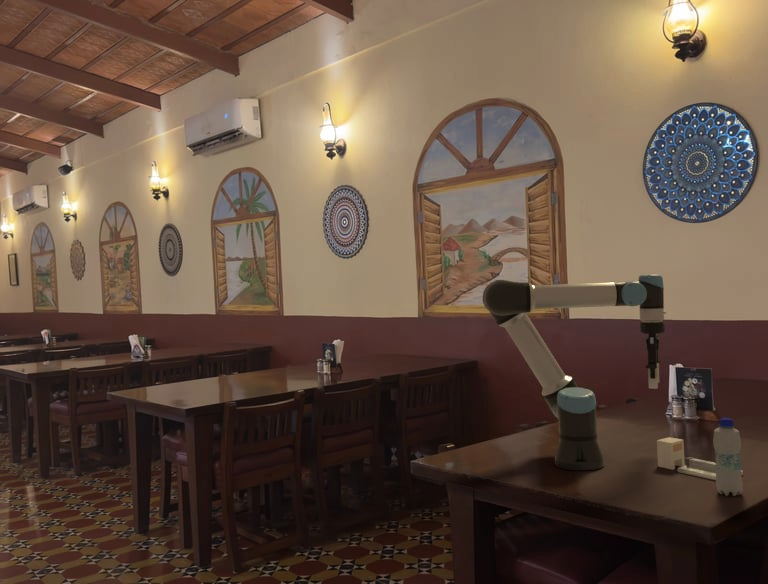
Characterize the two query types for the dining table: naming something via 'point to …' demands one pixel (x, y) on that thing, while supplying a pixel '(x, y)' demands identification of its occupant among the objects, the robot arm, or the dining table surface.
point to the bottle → (728, 458)
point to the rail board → (700, 468)
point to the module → (670, 453)
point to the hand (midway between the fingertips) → (654, 385)
